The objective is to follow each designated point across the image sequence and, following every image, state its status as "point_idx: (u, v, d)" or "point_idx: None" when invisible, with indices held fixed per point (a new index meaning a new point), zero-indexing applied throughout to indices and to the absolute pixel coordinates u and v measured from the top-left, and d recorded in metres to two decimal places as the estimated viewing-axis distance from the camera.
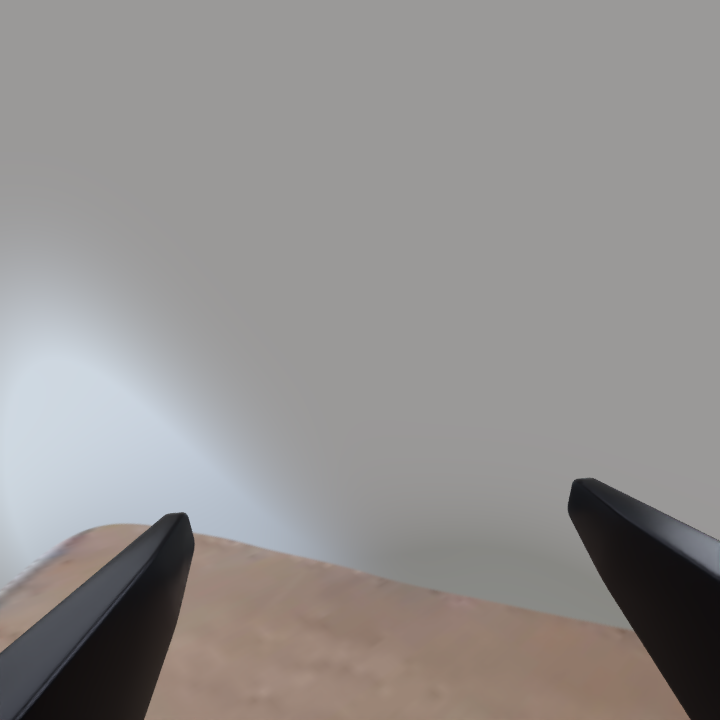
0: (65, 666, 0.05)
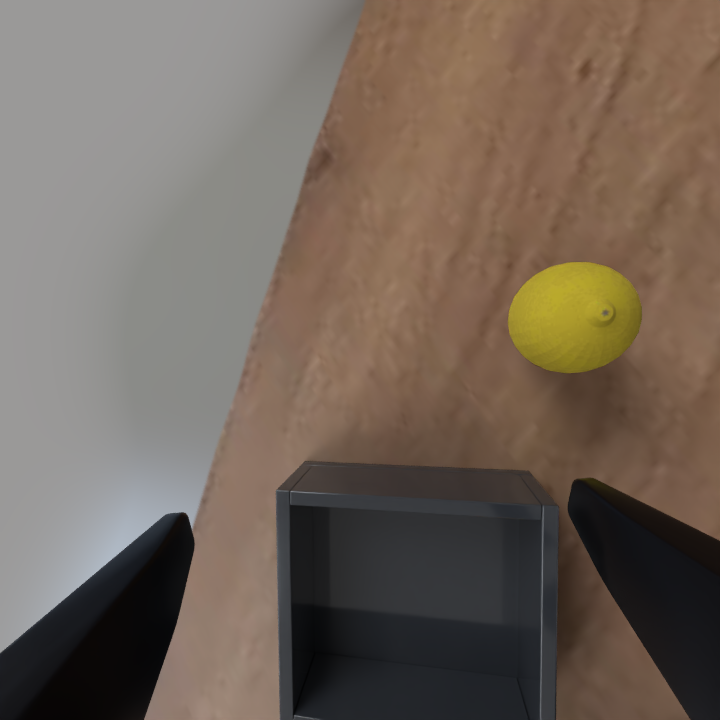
0: (65, 666, 0.05)
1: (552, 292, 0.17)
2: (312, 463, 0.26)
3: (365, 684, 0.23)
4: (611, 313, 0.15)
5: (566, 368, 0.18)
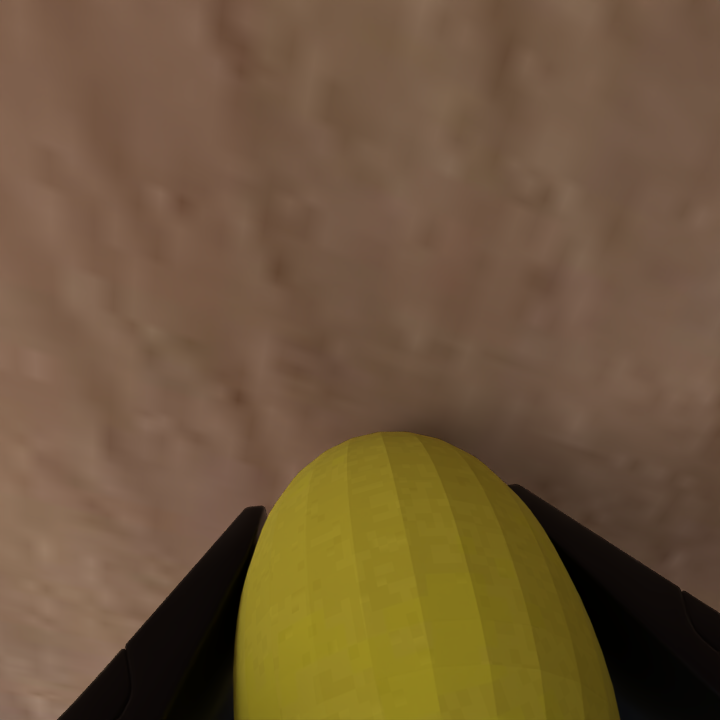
0: (197, 652, 0.05)
1: None
2: None
3: None
4: None
5: None
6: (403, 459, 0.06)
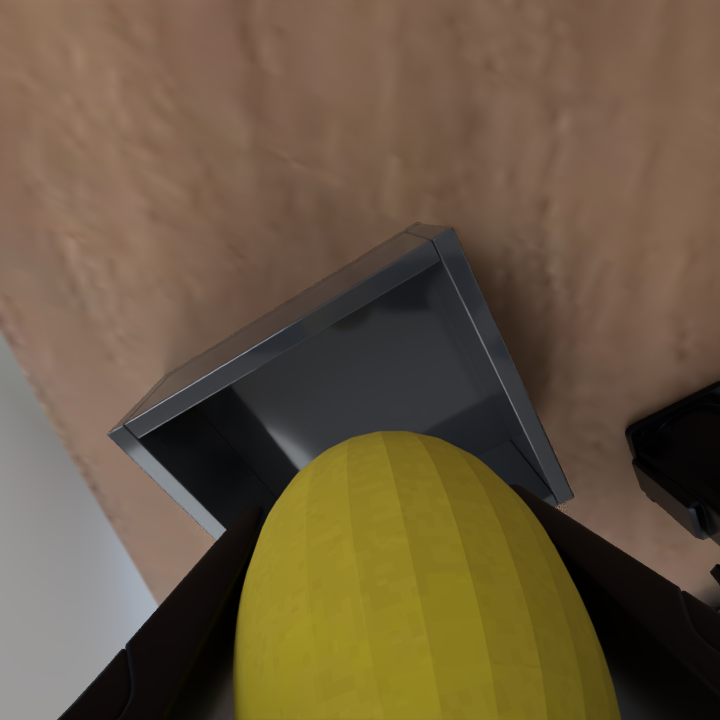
0: (198, 652, 0.05)
1: None
2: (169, 373, 0.19)
3: None
4: None
5: None
6: (403, 458, 0.06)
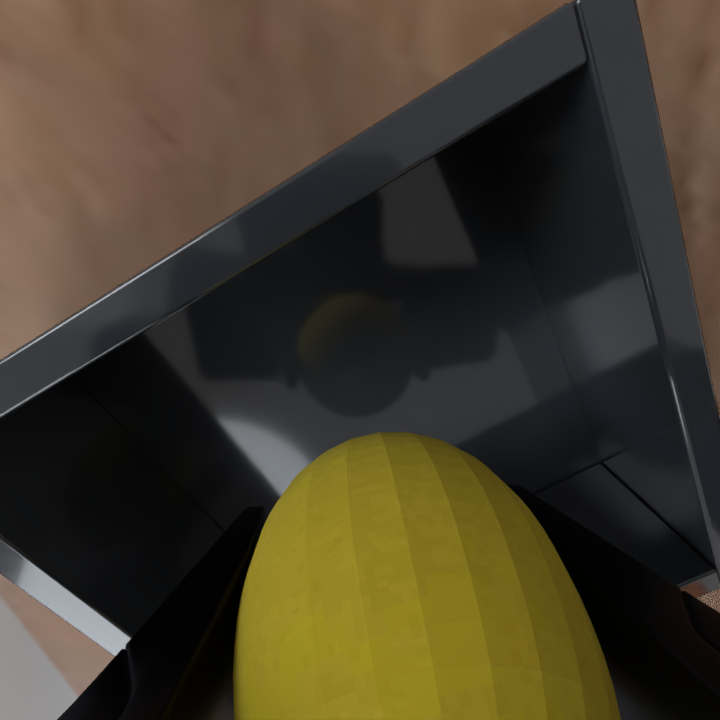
0: (198, 652, 0.05)
1: None
2: None
3: None
4: None
5: None
6: (403, 460, 0.06)
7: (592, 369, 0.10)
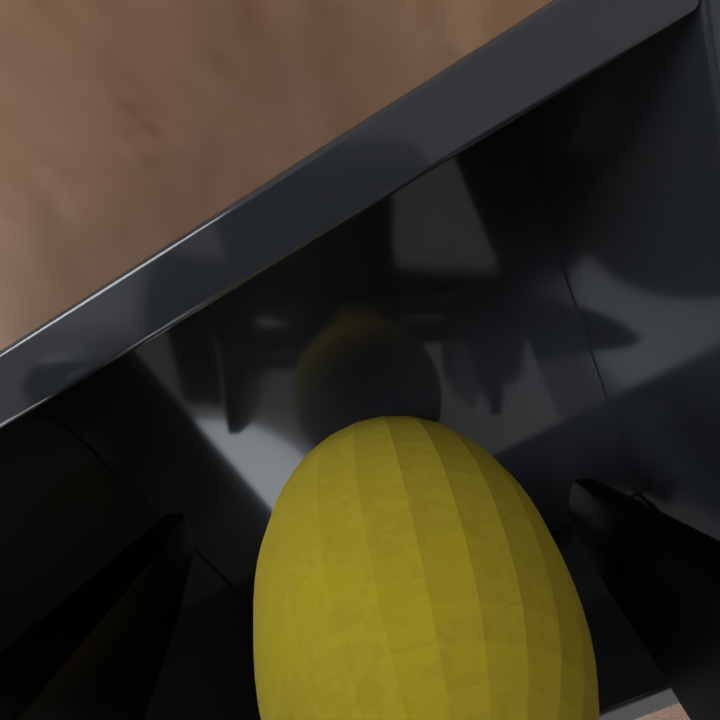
0: (65, 666, 0.05)
1: None
2: None
3: None
4: None
5: None
6: (404, 437, 0.07)
7: (642, 397, 0.09)
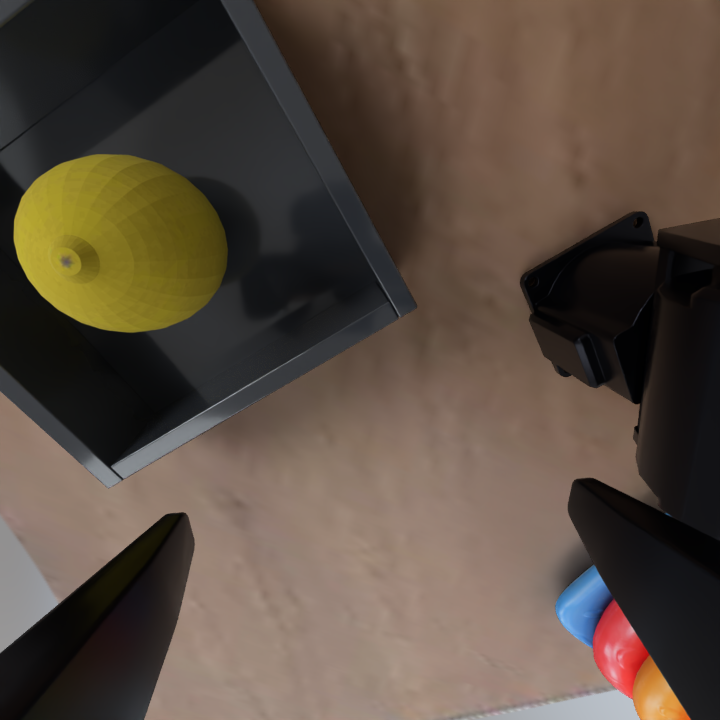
0: (65, 666, 0.05)
1: (18, 254, 0.10)
2: None
3: (202, 393, 0.17)
4: (76, 257, 0.09)
5: (156, 328, 0.12)
6: None
7: (315, 173, 0.15)
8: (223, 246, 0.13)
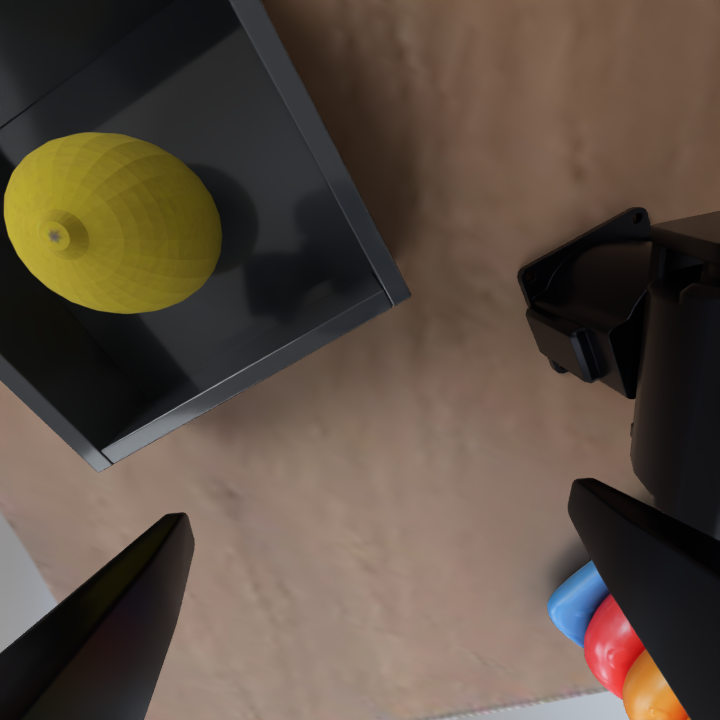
0: (65, 666, 0.05)
1: (7, 229, 0.10)
2: None
3: (195, 380, 0.17)
4: (64, 232, 0.09)
5: (147, 309, 0.12)
6: None
7: (312, 159, 0.15)
8: (217, 230, 0.13)
